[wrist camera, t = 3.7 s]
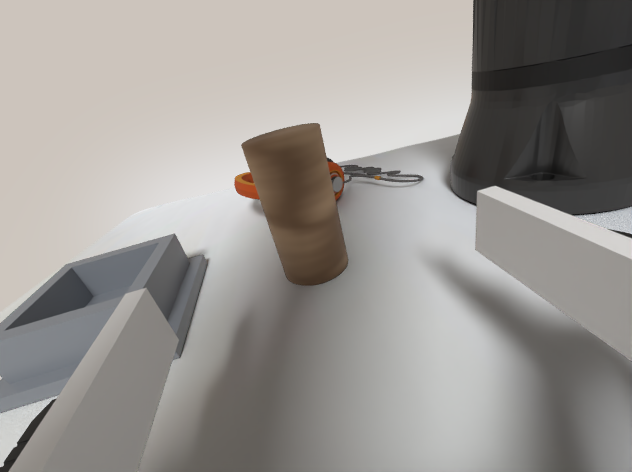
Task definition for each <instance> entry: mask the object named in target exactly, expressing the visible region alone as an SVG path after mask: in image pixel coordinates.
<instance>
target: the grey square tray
mask: <svg viewBox="0 0 632 472" xmlns="http://www.w3.org/2000/svg"><path fill="white" fill-rule="evenodd" d="M206 266H207V261H206V259H205V257H204V255H203V254H202V255H199V256H195V257H192V258H187V256H186V254H185V252H184V250H183V248H182V246H181V244H180V242H179V241H178V239H177V237H176V235H175V234H172V235H168V236H165V237H161V238H157V239H154V240H150V241H147V242H143V243H140V244H136V245H133V246H129V247H126V248H122V249H119V250H115V251H112V252H108V253H105V254H101V255H98V256H94V257H90V258H87V259H83V260H80V261H76V262H73V263H69V264H66V265H65V266H64V267H63V268H62V269H60V270H59V271H58V272H57V273H56V274H55V275H54V276H53V277H51V278H50V279H49V280H48V281H47V282H46V283H45V284H44V285H43V286H41V287H40V288H39V289H38V290H37V291H36V292H35V293H34V294H32V295H31V296H30V297H29V298H28V299H27V300H26V301H25V302H24V303H22V304H21V305H20V306H19V307H18V308H17V309H16V310H15V311H13V312H12V313H11V314H10V315H9V316H8V317H7V318H6V319H5V320H3V321H2V322H1V323H0V376H1V377H2V379H1V380H0V413H1V412H5V411H8V410H11V409H14V408H18V407H21V406H24V405H27V404H31V403H34V402H37V401H40V400H44V399H47V398H50V397H53V396H57V395H59V394H60V393H61V391H62V390H63V388H64V387H65V385H66V383H67V382H68V380H69V379H70V377H71V376H72V374H73V373H74V371H75V370H76V368H77V367H78V365H79V364H80V362H81V361H82V359H83V358H84V356H85V355H86V353H87V352H88V350H89V349H90V347H91V345H92V344H93V342H94V341H95V339H96V338H97V336H98V335H99V333H100V332H101V330H102V329H103V327H104V326H105V324H106V323H107V321H108V320H109V318H110V317H111V315H112V314H113V312H114V311H115V309H116V307H117V306H118V304H119V303H120V301H121V300H122V298H123V297H124V295H125V294H126V293H130V292H133V291H137V290H140V289H143V288H147V290H148V291H149V293H150V294H151V296H152V298H153V299H154V301H155V302H156V304H157V306H158V307H159V309H160V310H161V312H162V314H163V315H164V317H165V318H166V320H167V322H168V323H169V325H170V326H171V328H172V329H173V331H174V333H175V334H176V336H177V337H178V339H179V342H178V345H177V348H176V351H175V354H174V357H173V360H174V359H177V358H180V355H181V352H182V348H183V345H184V341H185V338H186V335H187V331H188V328H189V324H190V321H191V317H192V314H193V311H194V307H195V304H196V300H197V297H198V294H199V290H200V287H201V283H202V280H203V277H204V273H205V270H206Z"/></svg>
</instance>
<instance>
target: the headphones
mask: <svg viewBox="0 0 632 472" xmlns="http://www.w3.org/2000/svg"><path fill="white" fill-rule="evenodd" d="M327 162H328V167H329V172H330V176H331V181H332V186H333V191H334V195H335V200H337V199H338V198H339V197H340V195H341V193H342V191H343V188H344V183H347V182H349V181H351V179H352V178H351V177H369V178H375V179H376V180H385V181H392V182H417V181H421V180H423V177H422V176H420V175H391V174H397V173H400V172H401V171H389V172H381V168H374V167H366V168H362V167H358V166H357V165H345V166H339V165H338V164H336V163H334V162H333V161H332V160H331V159H329V158H327ZM341 167H346V168H344V169H345V170H344V171H356V170H363V172H364V173H367V175H365V174H359V173H348V172H343V171H342V169H341ZM380 172H381V173H380ZM344 174H350V175H351V176H349V178H350V179H349V180H347V181H345V180H344ZM379 174H387V175H388V176H392V177H420V179H417V180H393V179H386V178H381V177H380V176H371V175H379ZM235 188H236V191H237V193H239V194H240V195H242V196H245V197H248V198H253V199H260V198H259V195H258V193H257V190H256V187H255V184H254V181H253V178H252V175H251V172H247V173H243V174H240V175H238V176H236V177H235Z"/></svg>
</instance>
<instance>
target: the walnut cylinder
mask: <svg viewBox="0 0 632 472" xmlns="http://www.w3.org/2000/svg"><path fill="white" fill-rule="evenodd" d="M241 146H242V148H243V151H244V154H245V157H246V160H247V163H248V166H249V169H250V172H251V175H252V178H253V181H254V184H255V187H256V190H257V193H258V195H259V198H260V201H261V204H262V207H263V210H264V213H265V216H266V219H267V222H268V225H269V228H270V231H271V234H272V237H273V240H274V242H275V245H276V248H277V251H278V254H279V257H280V260H281V263H282V266H283V269H284V272H285V275H286V277H287V279H288V280H289V281H291V282H292V283H294V284H298V285H304V286H309V285H317V284H321V283H325V282H327V281H330V280H332V279H334V278H335V277H337V276H338V275H340V274H341V273H342V272H343V271H344V270H345V268H346V266H347V264H348V257H347V252H346V247H345V243H344V238H343V233H342V228H341V224H340V219H339V214H338V209H337V205H336V200H335V195H334V191H333V186H332V181H331V176H330V172H329V167H328V162H327V157H326V153H325V148H324V143H323V138H322V134H321V129H320V125H319V124H318V123H310V124H302V125H297V126H292V127H287V128H283V129H279V130H275V131H272V132H269V133H265V134H262V135H259V136H257V137H254V138H252V139H249V140H247V141H246V142H244V143H242V145H241Z"/></svg>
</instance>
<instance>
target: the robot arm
mask: <svg viewBox="0 0 632 472" xmlns="http://www.w3.org/2000/svg"><path fill="white" fill-rule="evenodd" d="M473 3H474V4H473V54H472V55H473V57H472V98H471V103H470V106H469V110H468V113H467V116H466V119H465V122H464V125H463V127H462V130H461V134H460V137H459V140H458V143H457V147H456V151H455V154H454V156H453V157H452V160H451V187H452V189H453V191H454V192H455V193H456V194H457V195H458V196H460V197H462V198H463V199H465V200H467V201H470V202H472V203H475V204H477V211H476V244H475V250H476V251H478V252H479V253H481V254H482V255H483V256H485V257H486V258H488V259H489V260H490V261H492V262H493V263H495V264H496V265H497V266H499V267H500V268H502V269H503V270H504V271H506V272H507V273H509V274H510V275H511V276H513V277H514V278H516V279H517V280H518V281H520V282H521V283H523V284H524V285H525V286H527V287H528V288H530V289H531V290H532V291H534V292H535V293H537V294H538V295H539V296H541V297H542V298H544V299H545V300H546V301H548V302H549V303H551V304H552V305H553V306H555V307H556V308H558V309H559V310H560V311H562V312H563V313H565V314H566V315H567V316H569V317H570V318H572V319H573V320H574V321H576V322H577V323H579V324H580V325H581V326H583V327H584V328H586V329H587V330H588V331H590V332H591V333H593V334H594V335H595V336H597V337H598V338H600V339H601V340H602V341H604V342H605V343H607V344H608V345H609V346H611V347H612V348H614V349H615V350H616V351H618V352H619V353H621V354H622V355H623V356H625V357H626V358H628V359H629V360H630V361H632V234H629V233H625V232H620V231H615V230H610V229H606V228H603V227H601V226H598V225H595V224H593V223H590V222H588V221H585V220H582V219H580V218H577V217H575V216H572V215H570V214H585V213H595V212H603V211H610V210H616V209H621V208H625V207H630V206H632V0H474V1H473ZM178 342H179V339H178V337H177V336H176V334H175V333H174V331H173V329H172V328H171V326H170V325H169V323H168V322H167V320H166V318H165V317H164V315H163V314H162V312H161V310H160V309H159V307H158V306H157V304H156V302H155V301H154V299H153V298H152V296H151V294H150V293H149V291H148V290H147V288H143V289H140V290H137V291H133V292H130V293H126V294H125V295H124V297H123V298H122V300H121V301H120V303H119V304H118V306H117V307H116V309H115V311H114V312H113V314H112V315H111V317H110V318H109V320H108V321H107V323H106V324H105V326H104V327H103V329H102V330H101V332H100V333H99V335H98V336H97V338H96V339H95V341H94V342H93V344H92V345H91V347H90V349H89V350H88V352H87V353H86V355H85V356H84V358H83V359H82V361H81V362H80V364H79V365H78V367H77V368H76V370H75V371H74V373H73V374H72V376H71V377H70V379H69V380H68V382H67V383H66V385H65V387H64V388H63V390H62V391H61V393H60V394H59V396H58V397H57V399H54V400H52V401H51V402H50V403H49V404H48V405H47V406H46V407H45V408H44V409H43V410H42V411H41V412H40V413H39V414H38V415H37V416H36V418H35V419H34V420H33V421H32V422H31V423H30V425H29V426H28V428H27V429H26V431H25V432H24V434H23V435H22V436H21V438H20V439H19V441H18V442H17V447H15V448H13V450H12V451H11V453H10V454H9V455H8V457H7V458H6V460H5V461H4V466H3V467H0V472H137V471H138V468H139V465H140V462H141V458H142V455H143V452H144V449H145V446H146V443H147V439H148V436H149V433H150V430H151V427H152V424H153V421H154V417H155V414H156V411H157V408H158V405H159V402H160V398H161V395H162V392H163V389H164V386H165V383H166V380H167V376H168V373H169V370H170V367H171V364H172V361H173V357H174V354H175V351H176V348H177V345H178Z"/></svg>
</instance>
